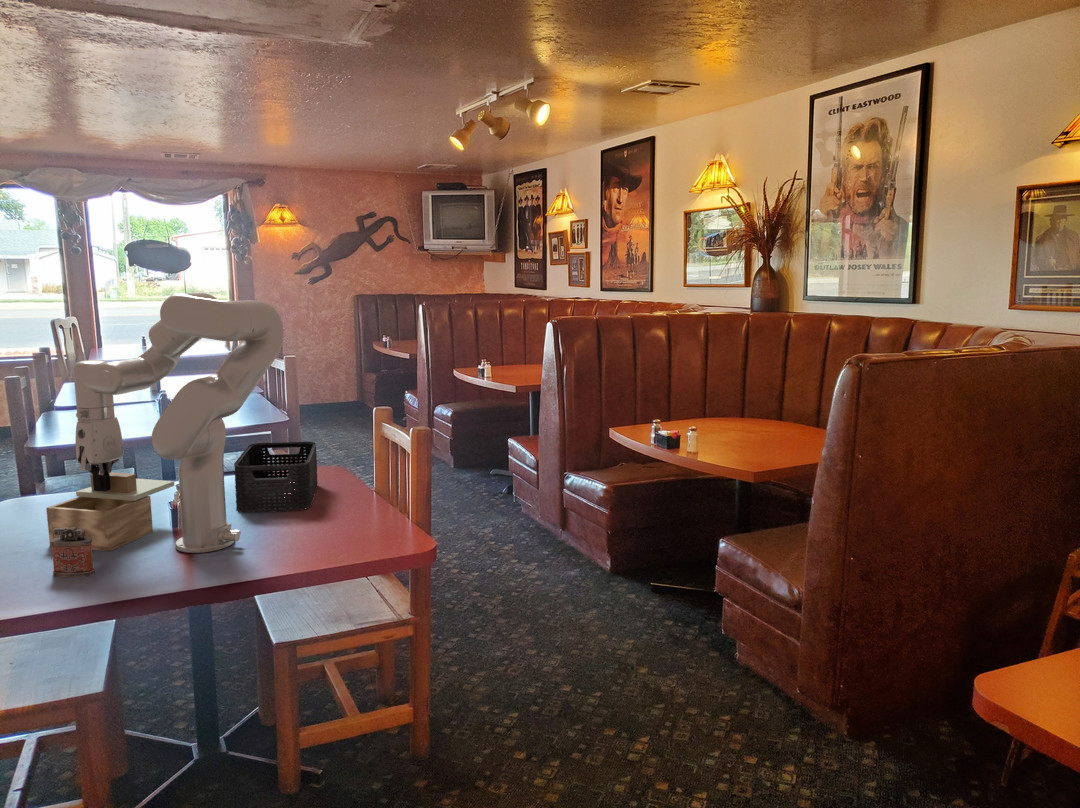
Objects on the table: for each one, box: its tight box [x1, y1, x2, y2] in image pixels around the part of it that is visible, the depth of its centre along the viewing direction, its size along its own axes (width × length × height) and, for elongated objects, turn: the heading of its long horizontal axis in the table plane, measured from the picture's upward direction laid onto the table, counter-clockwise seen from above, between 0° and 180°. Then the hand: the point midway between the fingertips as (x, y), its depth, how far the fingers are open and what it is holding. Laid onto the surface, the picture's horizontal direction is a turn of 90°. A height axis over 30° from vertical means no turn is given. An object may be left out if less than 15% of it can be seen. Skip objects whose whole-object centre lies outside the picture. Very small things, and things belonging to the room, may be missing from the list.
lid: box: [75, 471, 175, 501], centre depth 188 cm, size 16×14×5 cm
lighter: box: [49, 527, 96, 578], centre depth 159 cm, size 8×3×10 cm, turn 92°
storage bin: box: [233, 441, 319, 514], centre depth 217 cm, size 29×19×13 cm
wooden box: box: [45, 495, 154, 552], centre depth 181 cm, size 16×14×9 cm
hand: (102, 490), depth 181 cm, fingers closed
